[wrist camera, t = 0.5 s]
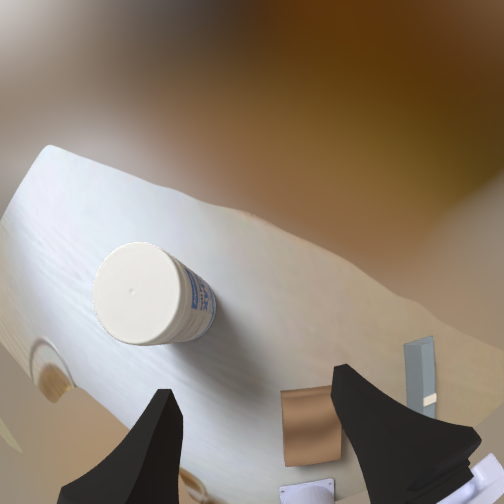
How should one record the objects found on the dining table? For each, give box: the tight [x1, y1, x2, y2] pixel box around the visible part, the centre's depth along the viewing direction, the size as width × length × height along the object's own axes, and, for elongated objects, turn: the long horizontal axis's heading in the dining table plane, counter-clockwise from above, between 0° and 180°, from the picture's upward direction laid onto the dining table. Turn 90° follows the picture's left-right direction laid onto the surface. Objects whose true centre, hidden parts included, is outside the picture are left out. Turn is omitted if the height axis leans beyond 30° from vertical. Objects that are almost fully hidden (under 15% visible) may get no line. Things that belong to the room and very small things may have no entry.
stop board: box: [404, 336, 436, 419], centre depth 28 cm, size 16×5×5 cm, turn 7°
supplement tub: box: [93, 242, 216, 346], centre depth 29 cm, size 10×10×15 cm
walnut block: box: [281, 385, 341, 467], centre depth 29 cm, size 10×7×4 cm
